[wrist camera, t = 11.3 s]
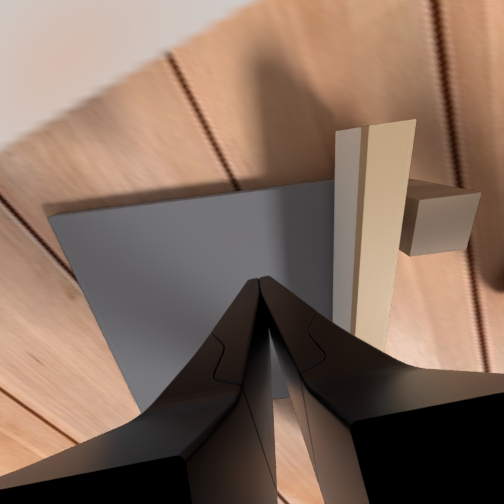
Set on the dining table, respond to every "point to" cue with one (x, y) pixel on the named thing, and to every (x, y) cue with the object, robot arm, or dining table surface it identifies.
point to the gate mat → (195, 269)
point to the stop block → (437, 218)
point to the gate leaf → (369, 224)
